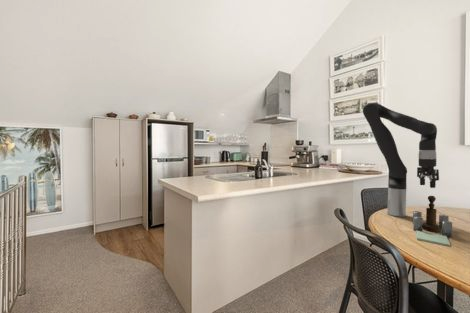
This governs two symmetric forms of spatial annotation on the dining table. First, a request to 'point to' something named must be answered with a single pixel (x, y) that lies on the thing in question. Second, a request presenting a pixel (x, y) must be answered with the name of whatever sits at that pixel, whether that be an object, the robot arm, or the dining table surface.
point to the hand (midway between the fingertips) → (427, 186)
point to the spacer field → (443, 223)
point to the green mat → (432, 238)
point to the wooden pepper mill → (431, 217)
